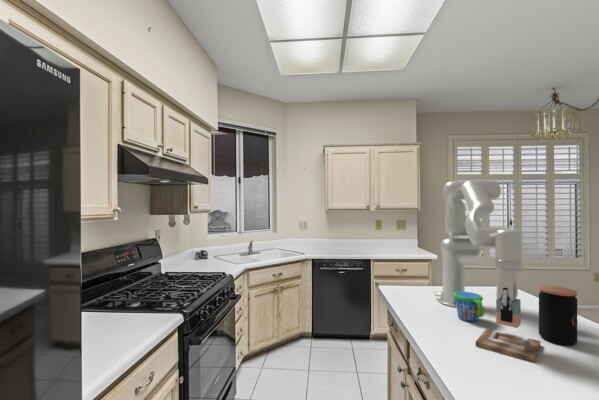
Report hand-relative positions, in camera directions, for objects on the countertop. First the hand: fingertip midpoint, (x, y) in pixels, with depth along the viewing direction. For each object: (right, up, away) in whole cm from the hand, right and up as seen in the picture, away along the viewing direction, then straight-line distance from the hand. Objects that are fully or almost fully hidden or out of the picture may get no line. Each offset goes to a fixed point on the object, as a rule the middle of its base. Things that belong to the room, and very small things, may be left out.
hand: (508, 318), depth 106 cm
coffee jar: (+21, -10, +5) cm, 24 cm away
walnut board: (0, -9, 0) cm, 9 cm away
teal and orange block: (0, -2, 0) cm, 2 cm away
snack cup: (0, -10, +25) cm, 27 cm away
